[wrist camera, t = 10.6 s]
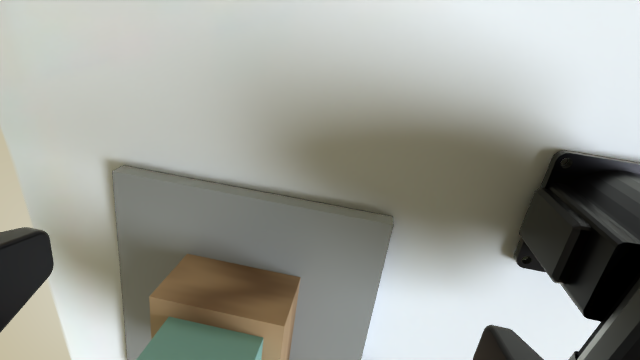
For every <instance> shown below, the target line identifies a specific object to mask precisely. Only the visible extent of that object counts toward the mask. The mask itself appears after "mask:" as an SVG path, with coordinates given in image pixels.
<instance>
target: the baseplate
mask: <svg viewBox="0 0 640 360" xmlns="http://www.w3.org/2000/svg"><path fill="white" fill-rule="evenodd" d="M112 174H113V187H114V199H115V212H116V224H117V237H118V249H119V261H120V274H121V286H122V299H123V311H124V323H125V336H126V348H127V360H136V359H137V358H138V357H139V355H140V354H141V353H142V351H143V350H144V349H145V347H146V346H147V345H148V344H149V342H150V341H151V323H150V302H149V296H150V295H151V294H152V293H153V292H154V291H155V289H156V288H157V287H158V286H159V285H160V284H161V283H162V282H163V280H164V279H165V278H166V277H167V276H168V275H169V274H170V273H171V271H172V270H173V269H174V268H175V267H176V266H177V265H178V264H179V262H180V261H181V260H182V259H183V258H184V257H185V256H186V255H187V254H191V255H196V256H201V257H206V258H211V259H215V260H220V261H225V262H230V263H234V264H239V265H244V266H249V267H254V268H258V269H263V270H268V271H273V272H278V273H282V274H287V275H292V276H297V277H301V278H300V285H299V292H298V300H297V307H296V314H295V321H294V328H293V335H292V342H291V349H290V356H289V360H361V358H362V353H363V349H364V345H365V341H366V337H367V333H368V328H369V324H370V320H371V316H372V312H373V308H374V303H375V299H376V295H377V291H378V287H379V283H380V279H381V274H382V270H383V266H384V262H385V258H386V254H387V249H388V245H389V241H390V237H391V233H392V229H393V217H392V216H387V215H382V214H376V213H371V212H366V211H361V210H355V209H350V208H345V207H339V206H334V205H329V204H324V203H318V202H313V201H308V200H303V199H297V198H292V197H287V196H282V195H276V194H271V193H266V192H260V191H255V190H250V189H245V188H239V187H234V186H229V185H224V184H218V183H213V182H208V181H203V180H197V179H192V178H187V177H181V176H176V175H171V174H166V173H160V172H155V171H150V170H145V169H139V168H134V167H129V166H124V165H123V166H121V167H119V168H117V169H115V170H113V171H112Z"/></svg>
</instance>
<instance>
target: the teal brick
mask: <svg viewBox="0 0 640 360" xmlns="http://www.w3.org/2000/svg"><path fill="white" fill-rule="evenodd" d="M262 348H263V337H258V336H254V335H249V334H245V333H240V332H236V331H232V330H227V329H223V328H218V327H214V326H209V325H205V324H200V323H196V322H191V321H187V320H182V319H178V318H173V317H168V318H167V320H166V321H165V322H164V324H163V325H162V326H161V328H160V329H159V330H158V332H157V333H156V334H155V336H154V337H153V338H152V340H151V341H150V342H149V344H148V345H147V346H146V347H145V349H144V350H143V351H142V353H141V354H140V355H139V357H138V358H137V359H136V360H261V358H262Z"/></svg>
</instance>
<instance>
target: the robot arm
mask: <svg viewBox="0 0 640 360" xmlns="http://www.w3.org/2000/svg"><path fill="white" fill-rule="evenodd" d="M565 158H568V162H567V164H565V165H561V161H562V160H563V159H565ZM519 234H520V235H521V239H520V241H519V244H518V246H517V249H516V251H515V254H514V259H515V261H516V263H517V264H518V265H519V266H520V267H522V268H527V269H532V270H537V271H542V272H547V274H548V275H549V277H550V278H551V279H552V281H553V282H555V283H560V284H561V286H562V287H563V288H564V290H565V291H566V292H567V294H568V295H569V296H570V298H571V299H572V301H573V302H574V303H575V305H576V306H577V307H578V309H579V310H580V311H581V313H582V314H583V316H584V317H586V318H588V319H592V320H597V321H600V322H601V323H600V324H599V326H598V327H597V328H596V330H595V331H594V332H593V334H592V335H591V336H590V337H589V339H588V340H587V341H586V343H585V344H584V345H583V347H582V348H581V349H580V351H579V352H578V351H575V352H574V353H573V355H572V356H571V357H570V359H569V360H640V163H637V162H631V161H625V160H619V159H613V158H607V157H601V156H595V155H589V154H583V153H577V152H571V151H560V152H558V153H556V154H555V155H554V156H553V158H552V160H551V162H550V165H549V167H548V170H547V173H546V175H545V178H544V180H543V183H542V185H541V188H540V189H538V190H537V191H535V193H534V196H533V198H532V201H531V203H530V206H529V208H528V211H527V214H526V216H525V219H524V221H523V224H522V226H521V229H520V232H519ZM524 256H529V257H528V259H526V260H521V259H522V258H523V257H524ZM53 265H54V263H53V256H52V250H51V244H50V238H49V235H48V234H47V233H46V232H45V231H43V230H38V229H33V228H27V227H26V228H25V227H24V228H18V229H14V230H9V231H5V232H0V332H1V331H2V330H3V329H4V327H6V325H7V324H8V323H9V322H10V321H11V320H12V318H13V317H14V316H15V315H16V314H17V313H18V312H19V310H20V309H21V308H22V307H23V306H24V305H25V303H26V302H27V301H28V300H29V299H30V298H31V296H32V295H33V294H34V293H35V292H36V291H37V290H38V288H39V287H40V286H41V285H42V284H43V283H44V281H45V280H46V279H47V278H48V277H49V275H50V274H51V272H52V270H53ZM473 360H543V359H542V358H541V357H540V356H539V355H538V354H537V353H536V352H535V351H534V350H533V349H532V348H531V347H530V346H529V345H527V344H526V343H525V342H524V341H523V340H522V339H521V338H520V337H519V336H518V335H517V334H516V333H515V332H513V331H512V330H511V329H508V328H503V327H499V326H494V325H489V326H487V327H486V328H485V329H484V331H483V334H482V336H481V339H480V342H479V344H478V347H477V349H476V352H475V354H474V357H473Z"/></svg>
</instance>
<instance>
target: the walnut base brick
mask: <svg viewBox="0 0 640 360" xmlns="http://www.w3.org/2000/svg"><path fill="white" fill-rule="evenodd" d="M300 278H301V277H297V276H292V275H287V274H282V273H278V272H273V271H268V270H263V269H258V268H254V267H249V266H244V265H239V264H234V263H230V262H225V261H220V260H215V259H211V258H206V257H201V256H196V255H191V254H187V255H186V256H185V257H184V258H183V259H182V260H181V261H180V262H179V264H178V265H177V266H176V267H175V268H174V269H173V270H172V271H171V273H170V274H169V275H168V276H167V277H166V278H165V279H164V280H163V282H162V283H161V284H160V285H159V286H158V287H157V288H156V289H155V291H154V292H153V293H152V294H151V295H150V296H149V302H150V323H151V340H152V338H153V337H154V336H155V334H156V333H157V332H158V330H159V329H160V328H161V326H162V325H163V324H164V322H165V321H166V320H167V318H168V317H173V318H178V319H182V320H187V321H191V322H196V323H200V324H205V325H209V326H214V327H218V328H223V329H227V330H232V331H236V332H240V333H245V334H249V335H254V336H258V337H263V348H262V358H261V360H289V356H290V349H291V342H292V335H293V328H294V321H295V314H296V307H297V300H298V292H299V285H300Z"/></svg>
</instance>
